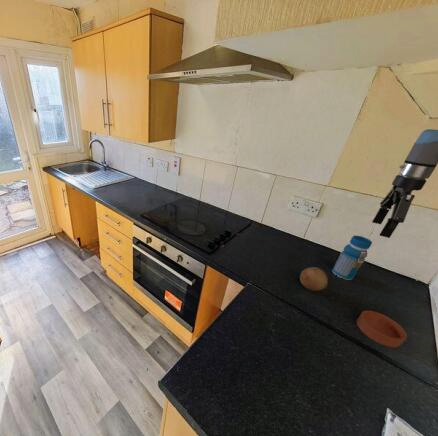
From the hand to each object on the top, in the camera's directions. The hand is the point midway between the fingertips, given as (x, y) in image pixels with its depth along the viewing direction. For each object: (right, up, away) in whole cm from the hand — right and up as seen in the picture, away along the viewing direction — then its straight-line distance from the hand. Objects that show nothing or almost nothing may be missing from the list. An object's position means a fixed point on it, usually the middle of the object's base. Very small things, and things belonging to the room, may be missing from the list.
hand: (380, 229), depth 89 cm
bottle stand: (-10, -36, -9) cm, 38 cm away
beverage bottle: (+2, -23, +19) cm, 30 cm away
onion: (-21, -26, +10) cm, 35 cm away
